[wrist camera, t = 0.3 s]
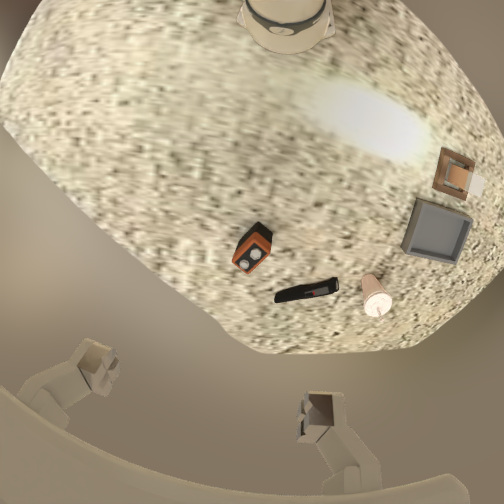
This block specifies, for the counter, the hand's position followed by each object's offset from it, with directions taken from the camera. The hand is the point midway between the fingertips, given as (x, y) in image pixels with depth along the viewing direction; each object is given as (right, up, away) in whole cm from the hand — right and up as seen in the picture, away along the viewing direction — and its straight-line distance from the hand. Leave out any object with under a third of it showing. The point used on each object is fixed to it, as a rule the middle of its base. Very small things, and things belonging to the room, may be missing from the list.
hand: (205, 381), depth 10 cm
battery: (+3, +8, +49) cm, 50 cm away
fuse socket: (+46, +22, +36) cm, 62 cm away
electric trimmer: (+15, -3, +54) cm, 56 cm away
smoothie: (+29, -1, +51) cm, 59 cm away
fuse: (+46, +22, +36) cm, 62 cm away
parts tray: (+44, +10, +42) cm, 62 cm away
